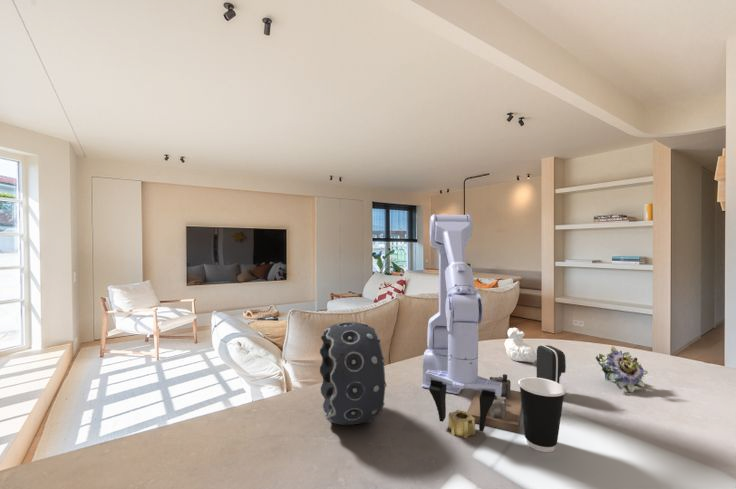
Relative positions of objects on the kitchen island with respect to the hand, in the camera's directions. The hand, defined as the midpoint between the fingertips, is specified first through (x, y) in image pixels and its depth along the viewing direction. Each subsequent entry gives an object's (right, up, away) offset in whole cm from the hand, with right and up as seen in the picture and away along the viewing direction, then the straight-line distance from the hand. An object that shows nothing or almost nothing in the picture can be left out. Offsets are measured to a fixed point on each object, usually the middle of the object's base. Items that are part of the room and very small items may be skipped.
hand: (461, 423), depth 70 cm
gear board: (+10, -1, +9) cm, 14 cm away
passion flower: (+47, -2, +23) cm, 53 cm away
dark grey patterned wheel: (-22, -1, +4) cm, 23 cm away
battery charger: (+27, -2, +18) cm, 32 cm away
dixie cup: (+13, -2, -4) cm, 14 cm away
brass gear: (0, -1, 0) cm, 1 cm away
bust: (+29, -1, +43) cm, 52 cm away
